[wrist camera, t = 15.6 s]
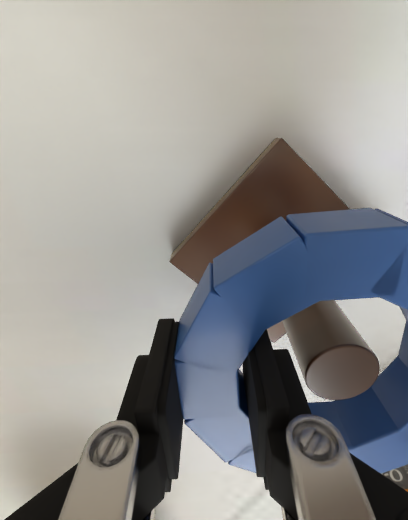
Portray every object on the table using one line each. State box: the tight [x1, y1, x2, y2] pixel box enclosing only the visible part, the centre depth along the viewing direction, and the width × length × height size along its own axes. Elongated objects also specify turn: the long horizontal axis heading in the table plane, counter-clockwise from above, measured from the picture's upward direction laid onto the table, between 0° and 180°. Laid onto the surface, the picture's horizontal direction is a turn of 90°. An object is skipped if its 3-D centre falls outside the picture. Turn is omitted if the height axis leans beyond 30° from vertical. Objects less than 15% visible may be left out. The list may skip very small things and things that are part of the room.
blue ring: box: [174, 208, 408, 474], centre depth 10 cm, size 10×10×2 cm
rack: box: [170, 138, 379, 400], centre depth 15 cm, size 10×10×12 cm
